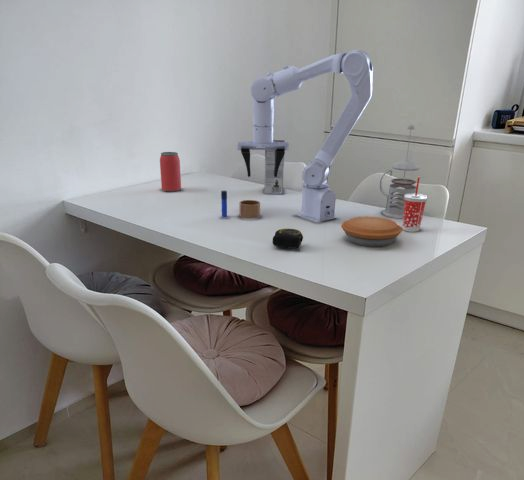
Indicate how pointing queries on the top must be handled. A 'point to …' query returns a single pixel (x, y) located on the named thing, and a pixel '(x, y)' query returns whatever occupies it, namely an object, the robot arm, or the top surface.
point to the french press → (398, 207)
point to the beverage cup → (413, 210)
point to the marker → (224, 203)
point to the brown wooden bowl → (249, 209)
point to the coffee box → (273, 183)
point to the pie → (371, 231)
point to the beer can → (170, 171)
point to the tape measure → (288, 238)
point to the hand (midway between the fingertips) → (262, 176)
